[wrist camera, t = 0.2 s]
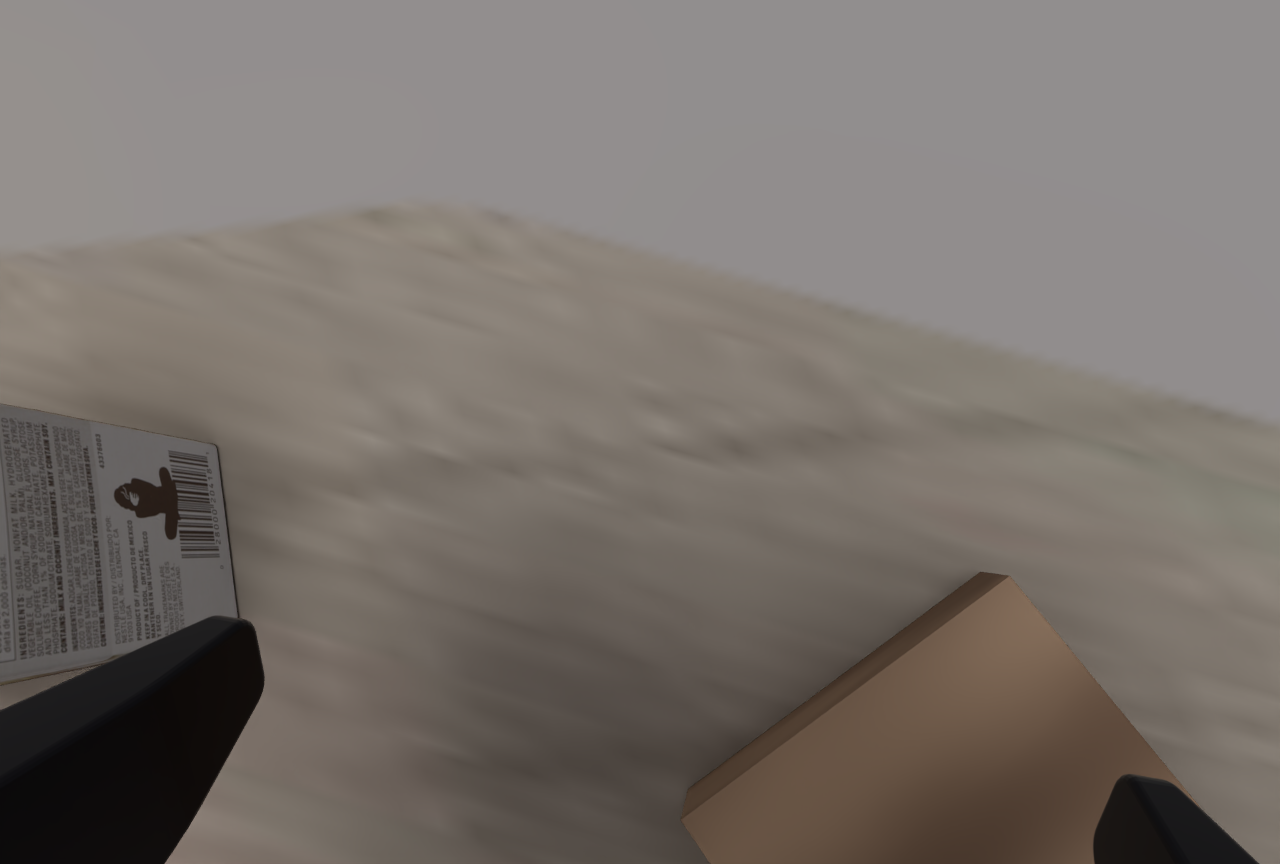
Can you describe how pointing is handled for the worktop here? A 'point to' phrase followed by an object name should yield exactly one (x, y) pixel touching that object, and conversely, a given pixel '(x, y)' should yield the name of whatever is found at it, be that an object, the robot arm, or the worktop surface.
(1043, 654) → the walnut block
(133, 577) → the coffee box
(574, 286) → the worktop surface
